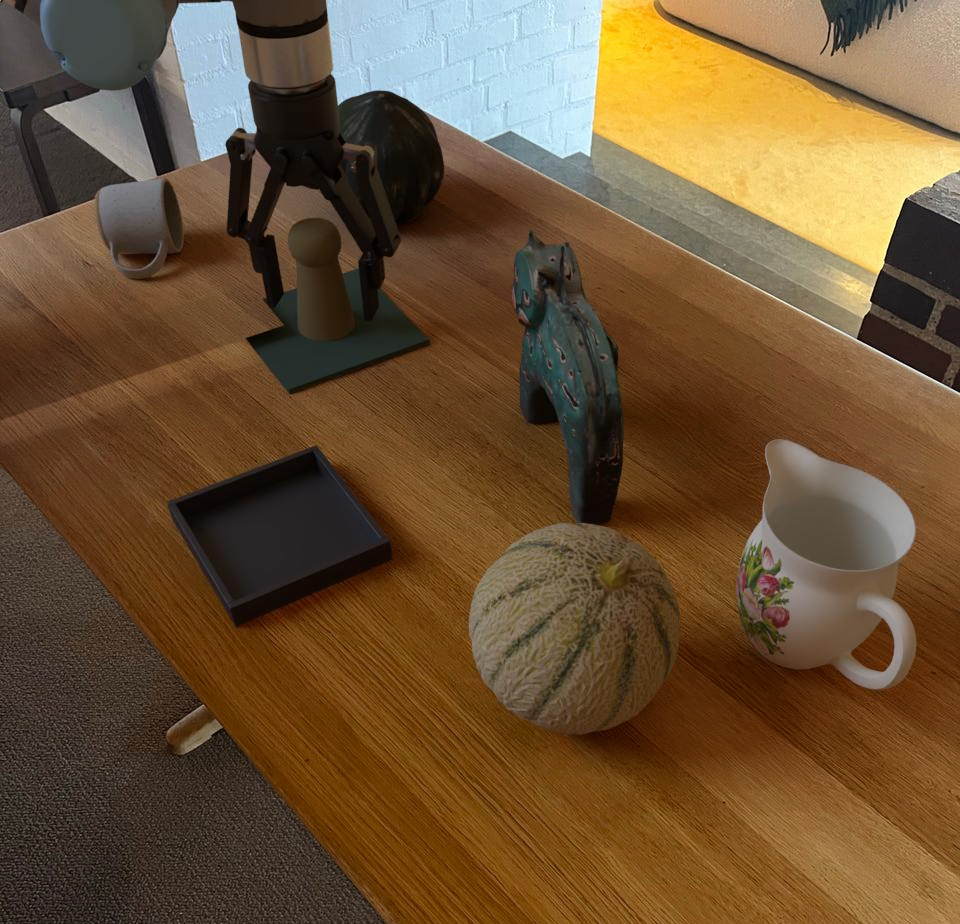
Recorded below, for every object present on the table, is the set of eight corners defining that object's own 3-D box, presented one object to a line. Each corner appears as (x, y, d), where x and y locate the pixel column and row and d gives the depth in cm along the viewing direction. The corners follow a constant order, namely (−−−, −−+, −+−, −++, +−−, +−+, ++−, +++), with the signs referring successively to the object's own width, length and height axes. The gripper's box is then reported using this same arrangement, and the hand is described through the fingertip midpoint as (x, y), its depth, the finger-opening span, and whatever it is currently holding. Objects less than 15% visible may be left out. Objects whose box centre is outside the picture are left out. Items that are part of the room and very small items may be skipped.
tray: (172, 520, 87) (166, 501, 85) (319, 464, 91) (316, 444, 90) (235, 627, 79) (230, 608, 77) (392, 559, 84) (390, 540, 82)
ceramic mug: (116, 233, 117) (96, 169, 111) (186, 229, 117) (170, 165, 111) (103, 284, 110) (81, 219, 104) (177, 280, 111) (159, 215, 105)
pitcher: (810, 758, 71) (867, 639, 61) (679, 588, 82) (709, 460, 71) (931, 707, 74) (1007, 584, 63) (790, 548, 84) (835, 419, 74)
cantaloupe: (464, 620, 80) (460, 480, 68) (645, 609, 80) (672, 469, 68) (477, 780, 70) (476, 649, 59) (682, 766, 71) (721, 634, 59)
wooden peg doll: (313, 347, 102) (297, 247, 93) (287, 319, 105) (270, 219, 96) (365, 329, 104) (354, 229, 95) (339, 302, 107) (326, 203, 98)
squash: (350, 119, 123) (312, 53, 109) (465, 139, 121) (442, 74, 106) (326, 233, 124) (284, 184, 110) (440, 255, 122) (413, 207, 107)
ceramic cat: (503, 397, 97) (507, 199, 82) (566, 387, 98) (582, 189, 83) (564, 537, 85) (582, 336, 70) (635, 523, 86) (668, 322, 71)
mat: (227, 315, 106) (225, 310, 106) (359, 272, 112) (359, 267, 111) (289, 394, 98) (288, 389, 97) (430, 344, 103) (429, 339, 103)
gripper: (427, 70, 86) (437, 300, 103) (188, 47, 89) (236, 273, 107) (403, 108, 81) (417, 342, 99) (151, 81, 85) (208, 312, 102)
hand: (323, 306), depth 103 cm, fingers open, 10 cm apart
